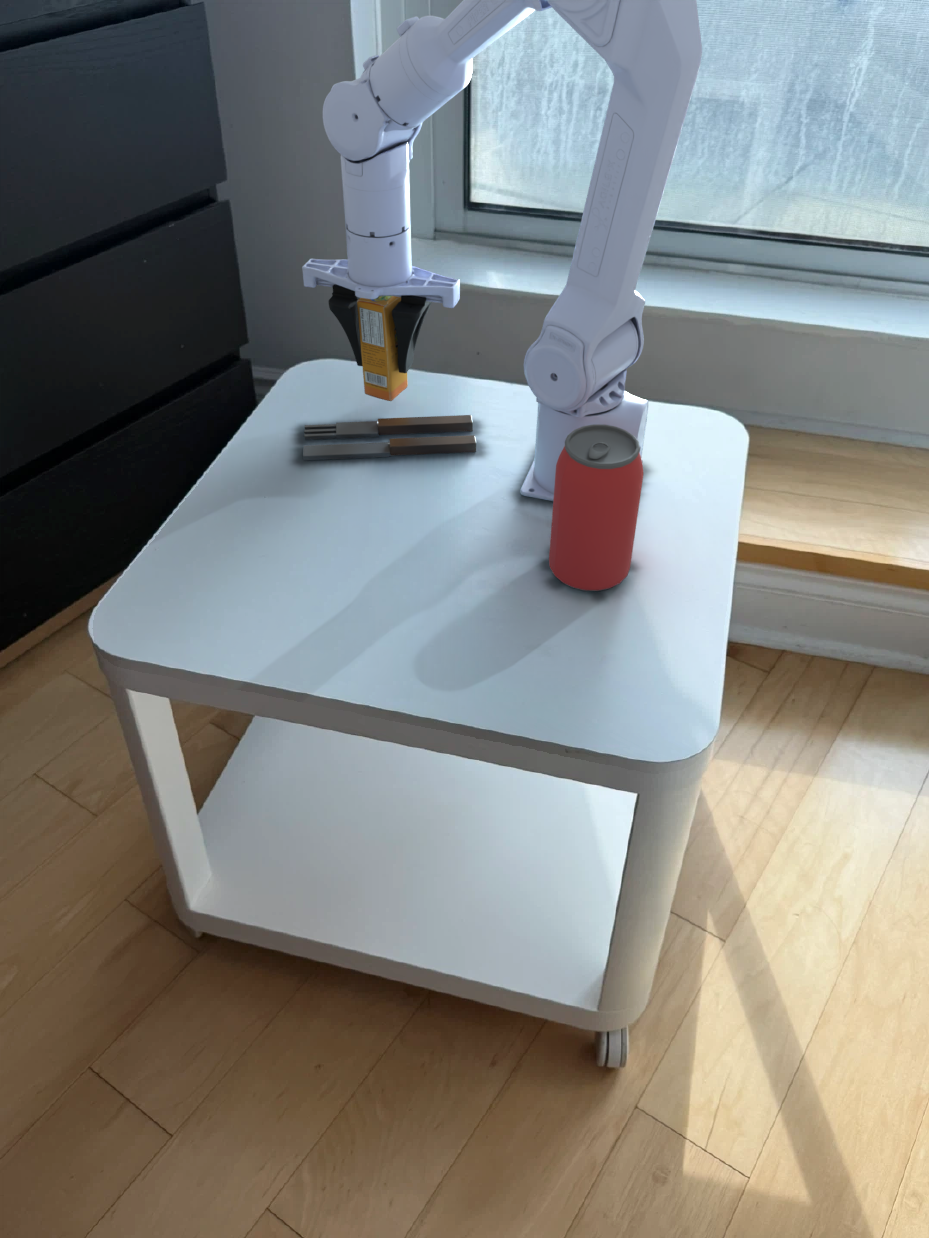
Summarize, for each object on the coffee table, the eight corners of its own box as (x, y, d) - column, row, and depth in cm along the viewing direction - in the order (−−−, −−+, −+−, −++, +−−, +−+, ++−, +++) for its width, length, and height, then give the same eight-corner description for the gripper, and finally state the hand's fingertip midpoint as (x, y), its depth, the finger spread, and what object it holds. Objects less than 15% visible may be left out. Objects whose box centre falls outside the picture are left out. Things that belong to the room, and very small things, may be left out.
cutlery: (470, 421, 104) (471, 412, 103) (476, 453, 100) (476, 444, 99) (305, 428, 103) (303, 419, 102) (303, 460, 98) (302, 451, 98)
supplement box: (378, 379, 106) (375, 284, 100) (408, 388, 105) (407, 292, 98) (360, 394, 104) (355, 297, 97) (390, 404, 103) (388, 307, 96)
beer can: (534, 579, 86) (543, 453, 78) (567, 535, 90) (579, 411, 82) (611, 605, 84) (627, 478, 76) (641, 558, 88) (660, 433, 80)
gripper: (282, 232, 92) (298, 372, 101) (442, 253, 89) (443, 396, 98) (314, 202, 97) (326, 339, 106) (467, 221, 94) (466, 361, 103)
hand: (384, 364), depth 103 cm, fingers closed on supplement box, 4 cm apart
